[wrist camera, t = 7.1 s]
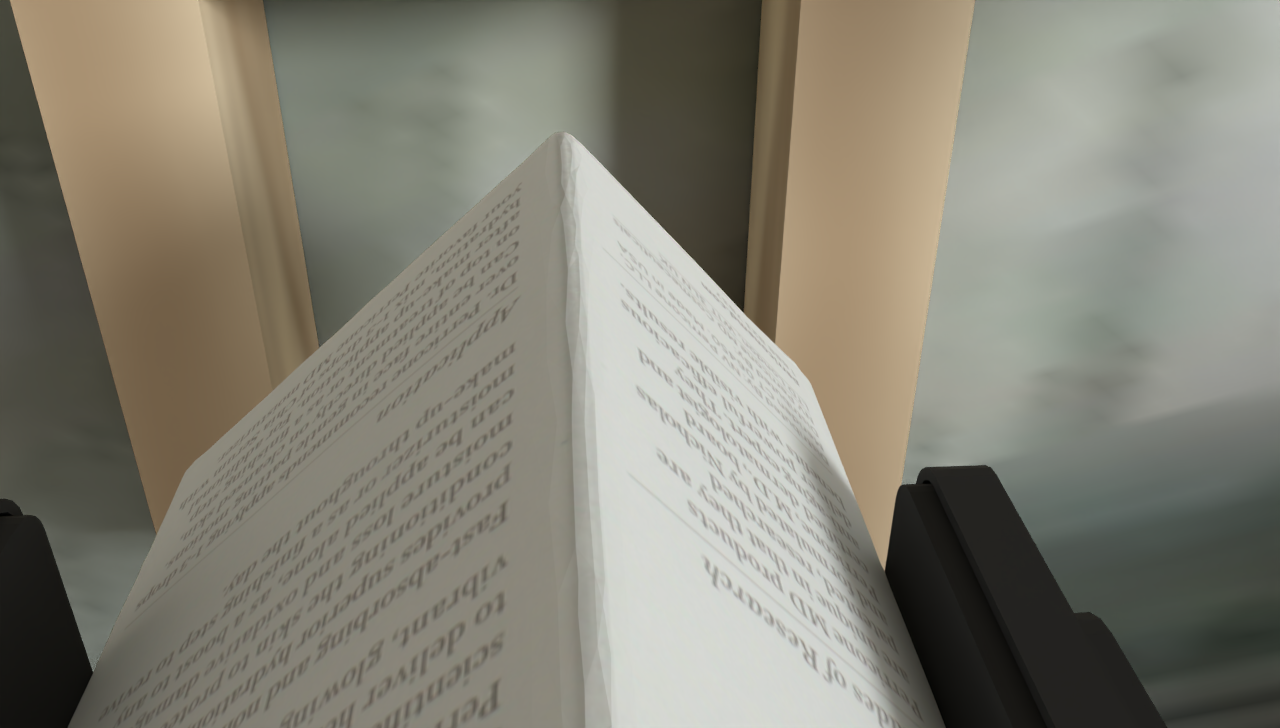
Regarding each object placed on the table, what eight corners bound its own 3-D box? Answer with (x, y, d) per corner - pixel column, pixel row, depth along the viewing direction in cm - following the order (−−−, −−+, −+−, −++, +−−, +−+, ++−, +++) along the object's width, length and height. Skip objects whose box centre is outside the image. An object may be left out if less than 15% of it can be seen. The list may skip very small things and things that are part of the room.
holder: (934, -225, 16) (1006, -208, 13) (849, 470, 22) (887, 574, 19) (56, -226, 15) (-48, -208, 13) (220, 490, 21) (173, 600, 19)
